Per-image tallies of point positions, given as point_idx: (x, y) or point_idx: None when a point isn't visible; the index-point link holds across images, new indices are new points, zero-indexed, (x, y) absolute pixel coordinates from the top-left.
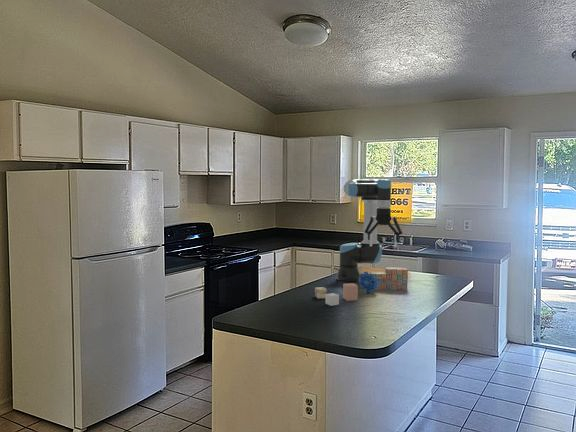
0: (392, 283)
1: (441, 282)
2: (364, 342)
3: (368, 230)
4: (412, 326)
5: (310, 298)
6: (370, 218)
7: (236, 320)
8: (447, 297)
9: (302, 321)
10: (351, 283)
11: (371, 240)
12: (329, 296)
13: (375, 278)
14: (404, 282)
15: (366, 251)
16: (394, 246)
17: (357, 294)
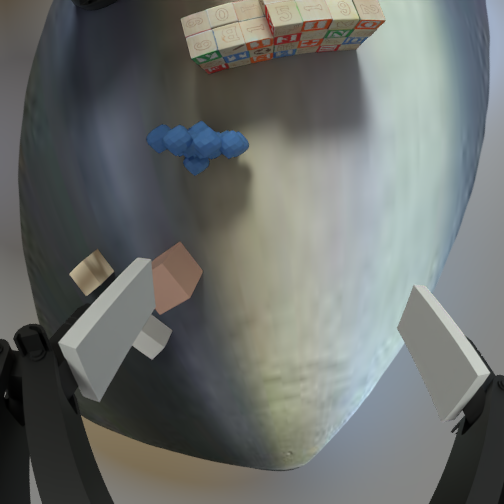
0: (300, 46)
1: None
2: (280, 462)
3: (5, 378)
4: (350, 417)
5: None
6: None
7: (96, 417)
8: (476, 152)
9: (169, 424)
10: (157, 271)
11: (128, 329)
12: (147, 354)
13: (232, 145)
14: (353, 39)
15: None
16: (401, 335)
17: (198, 280)
